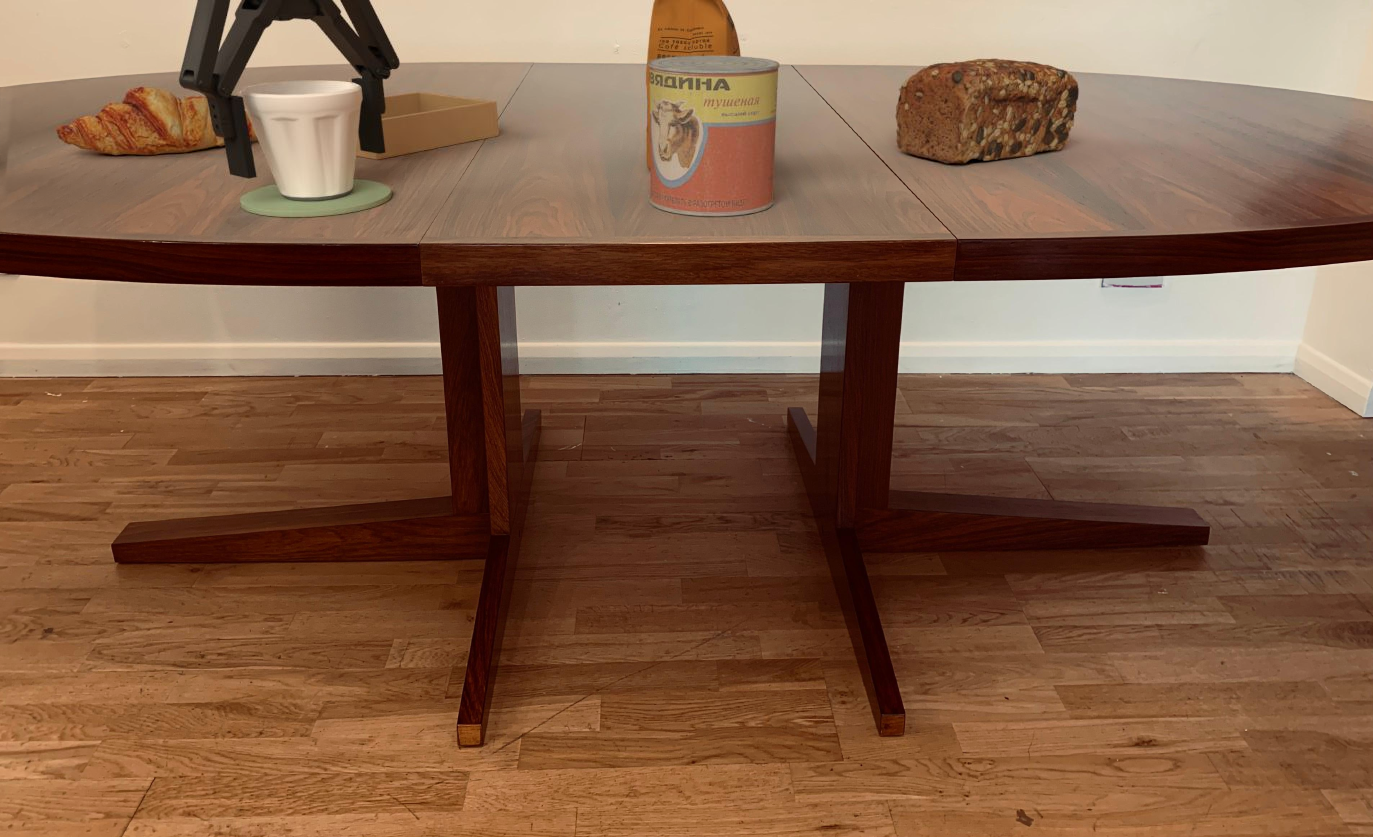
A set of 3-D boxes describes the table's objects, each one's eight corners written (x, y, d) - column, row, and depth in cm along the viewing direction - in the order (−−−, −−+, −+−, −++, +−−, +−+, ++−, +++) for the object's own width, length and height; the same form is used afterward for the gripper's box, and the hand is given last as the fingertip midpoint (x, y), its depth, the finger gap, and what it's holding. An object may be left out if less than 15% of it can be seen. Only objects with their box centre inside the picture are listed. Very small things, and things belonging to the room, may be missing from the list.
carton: (299, 145, 115) (293, 109, 114) (422, 124, 129) (419, 91, 127) (376, 159, 108) (372, 121, 106) (499, 135, 122) (496, 101, 120)
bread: (957, 168, 106) (969, 68, 101) (887, 151, 114) (896, 58, 109) (1074, 151, 115) (1090, 58, 110) (1001, 136, 123) (1013, 49, 119)
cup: (320, 212, 86) (303, 98, 82) (233, 199, 89) (212, 90, 85) (397, 188, 94) (385, 83, 90) (314, 177, 98) (299, 77, 94)
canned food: (623, 201, 92) (621, 62, 86) (704, 182, 99) (706, 52, 94) (719, 223, 85) (722, 73, 80) (798, 200, 93) (805, 62, 87)
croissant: (271, 165, 121) (257, 100, 121) (279, 137, 112) (263, 66, 112) (68, 179, 112) (53, 109, 111) (59, 149, 103) (42, 72, 103)
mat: (210, 202, 90) (209, 197, 90) (332, 177, 100) (332, 172, 100) (299, 225, 84) (298, 219, 83) (421, 196, 93) (420, 190, 93)
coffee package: (751, 154, 112) (758, -66, 102) (729, 178, 101) (735, -66, 91) (664, 150, 114) (663, -67, 104) (633, 172, 103) (629, -67, 94)
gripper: (145, -112, 70) (205, 194, 79) (423, -100, 88) (445, 147, 98) (90, -110, 74) (154, 181, 83) (367, -99, 92) (394, 138, 102)
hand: (311, 163), depth 90 cm, fingers open, 13 cm apart
